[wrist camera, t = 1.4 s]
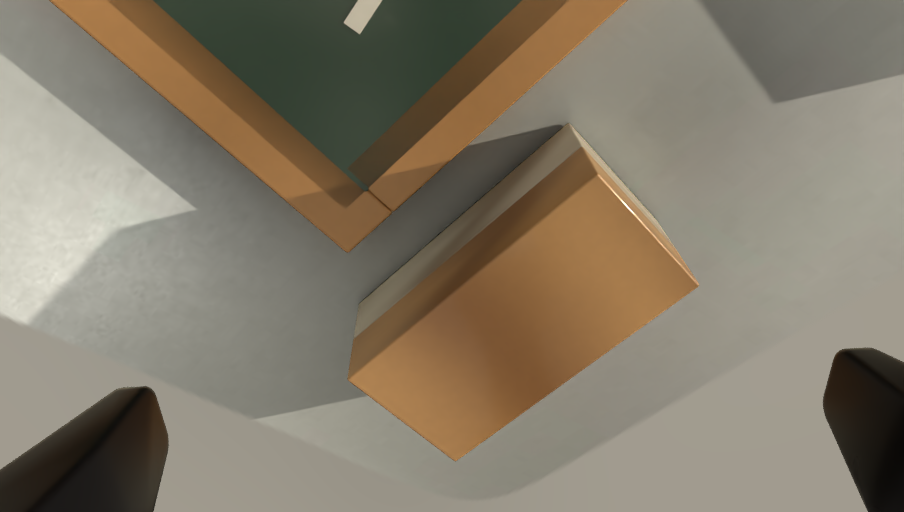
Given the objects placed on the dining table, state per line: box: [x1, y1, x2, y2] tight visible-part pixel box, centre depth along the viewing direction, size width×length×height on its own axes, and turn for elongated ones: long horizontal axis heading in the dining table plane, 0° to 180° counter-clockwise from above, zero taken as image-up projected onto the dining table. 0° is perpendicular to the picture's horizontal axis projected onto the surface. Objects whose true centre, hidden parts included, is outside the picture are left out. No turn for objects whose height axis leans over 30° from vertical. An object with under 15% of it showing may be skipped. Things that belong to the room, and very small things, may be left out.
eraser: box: [347, 123, 699, 461], centre depth 21 cm, size 9×4×4 cm, turn 133°
